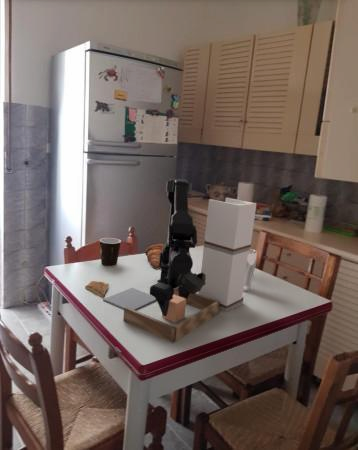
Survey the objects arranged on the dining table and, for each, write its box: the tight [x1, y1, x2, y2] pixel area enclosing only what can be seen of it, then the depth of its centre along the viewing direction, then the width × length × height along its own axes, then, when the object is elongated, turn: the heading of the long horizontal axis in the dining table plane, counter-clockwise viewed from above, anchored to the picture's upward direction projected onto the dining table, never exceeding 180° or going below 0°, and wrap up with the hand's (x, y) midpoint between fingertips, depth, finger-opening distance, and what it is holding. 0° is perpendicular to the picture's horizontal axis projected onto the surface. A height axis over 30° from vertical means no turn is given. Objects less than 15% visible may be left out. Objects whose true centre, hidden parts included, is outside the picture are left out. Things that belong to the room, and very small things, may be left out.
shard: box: [84, 280, 110, 298], centre depth 129 cm, size 11×8×2 cm
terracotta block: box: [161, 295, 187, 323], centre depth 114 cm, size 5×5×6 cm
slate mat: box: [102, 287, 157, 311], centre depth 124 cm, size 14×12×1 cm
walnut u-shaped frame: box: [123, 288, 220, 344], centre depth 115 cm, size 25×18×4 cm
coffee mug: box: [99, 237, 122, 267], centre depth 155 cm, size 12×9×10 cm
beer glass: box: [243, 248, 258, 292], centre depth 142 cm, size 7×7×15 cm
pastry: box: [144, 243, 165, 270], centre depth 166 cm, size 17×15×8 cm
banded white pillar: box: [198, 197, 257, 313], centre depth 126 cm, size 11×11×35 cm
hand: (173, 310), depth 115 cm, fingers open, 9 cm apart
